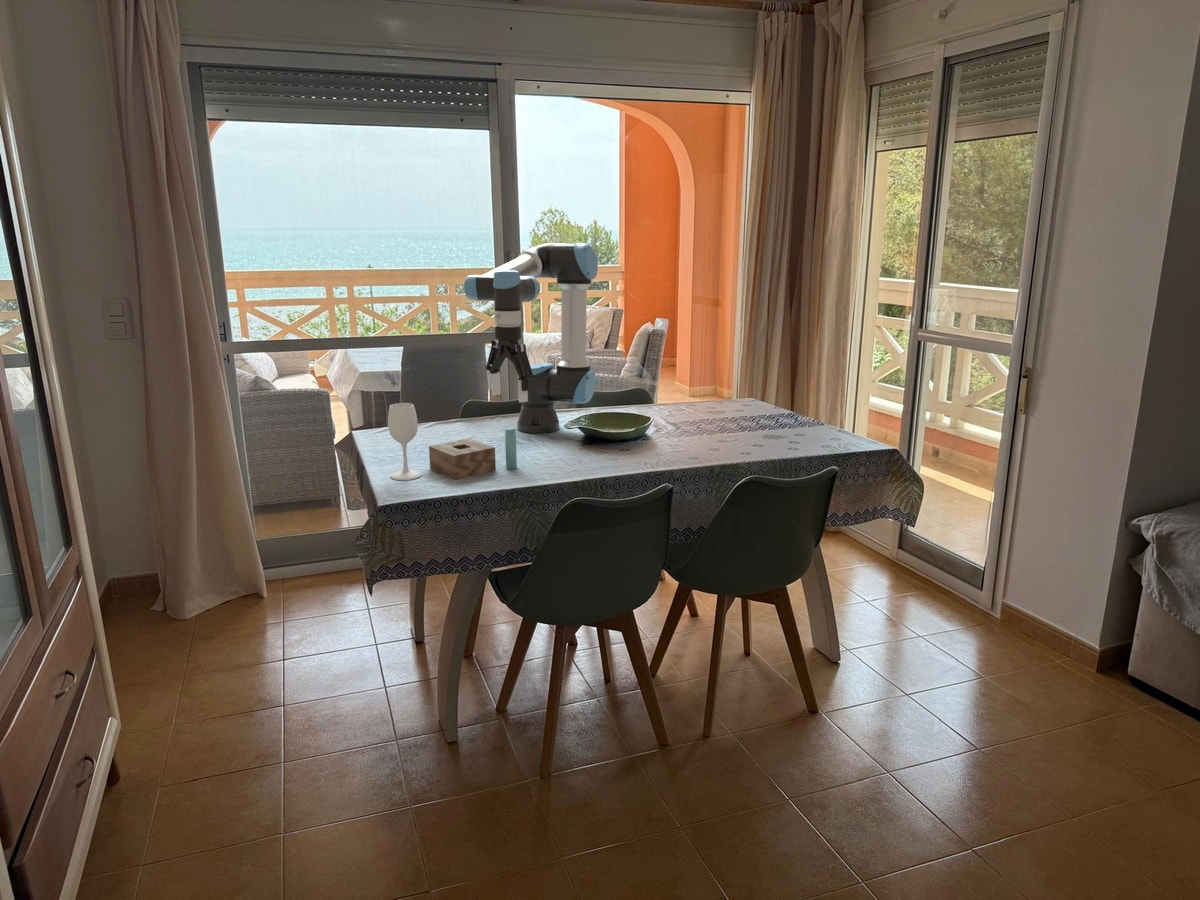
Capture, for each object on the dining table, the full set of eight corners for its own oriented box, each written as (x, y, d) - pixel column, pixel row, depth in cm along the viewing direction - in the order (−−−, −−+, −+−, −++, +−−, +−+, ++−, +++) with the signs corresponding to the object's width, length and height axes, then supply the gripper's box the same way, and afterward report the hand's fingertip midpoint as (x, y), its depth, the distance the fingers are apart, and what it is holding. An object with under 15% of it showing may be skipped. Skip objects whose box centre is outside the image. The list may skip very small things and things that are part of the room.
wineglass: (423, 471, 237) (419, 402, 231) (418, 480, 228) (414, 408, 223) (394, 471, 236) (389, 402, 231) (387, 480, 228) (382, 408, 222)
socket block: (470, 460, 248) (469, 438, 246) (495, 470, 238) (494, 447, 236) (430, 468, 239) (428, 446, 238) (455, 479, 229) (453, 455, 227)
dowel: (512, 465, 243) (511, 427, 240) (518, 467, 241) (517, 429, 237) (503, 467, 241) (502, 428, 238) (510, 469, 239) (509, 430, 235)
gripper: (472, 322, 236) (475, 393, 242) (522, 330, 218) (524, 406, 224) (494, 321, 241) (496, 390, 247) (544, 328, 223) (545, 403, 229)
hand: (509, 398), depth 235 cm, fingers open, 13 cm apart
